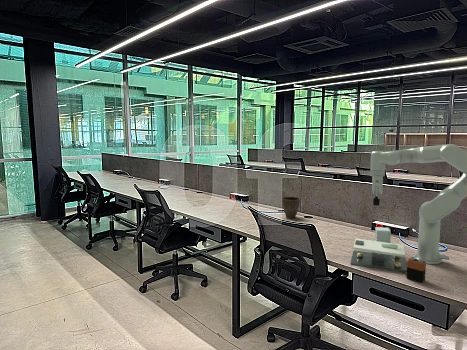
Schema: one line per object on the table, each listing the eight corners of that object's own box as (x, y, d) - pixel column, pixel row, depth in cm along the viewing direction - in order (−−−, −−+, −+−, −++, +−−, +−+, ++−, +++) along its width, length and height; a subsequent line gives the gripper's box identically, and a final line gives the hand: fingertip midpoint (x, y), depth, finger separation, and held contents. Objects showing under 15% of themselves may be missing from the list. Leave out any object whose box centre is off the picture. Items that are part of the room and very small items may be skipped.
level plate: (403, 249, 171) (403, 241, 171) (404, 259, 157) (405, 251, 156) (355, 242, 181) (355, 234, 181) (353, 251, 167) (353, 243, 166)
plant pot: (289, 214, 277) (289, 196, 275) (303, 217, 265) (303, 198, 264) (278, 217, 267) (278, 198, 266) (291, 220, 256) (292, 200, 254)
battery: (409, 275, 152) (410, 255, 151) (425, 280, 147) (426, 259, 146) (405, 278, 149) (406, 258, 148) (422, 283, 144) (423, 261, 143)
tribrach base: (404, 258, 173) (404, 248, 173) (407, 272, 155) (407, 261, 155) (353, 251, 184) (353, 242, 184) (350, 264, 166) (350, 254, 166)
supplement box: (387, 248, 190) (388, 227, 188) (390, 252, 182) (391, 231, 181) (374, 247, 192) (375, 226, 190) (376, 251, 185) (377, 230, 183)
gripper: (384, 174, 172) (383, 208, 174) (384, 172, 185) (383, 203, 187) (369, 174, 175) (368, 207, 177) (370, 171, 188) (369, 202, 190)
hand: (376, 205), depth 182 cm, fingers closed
